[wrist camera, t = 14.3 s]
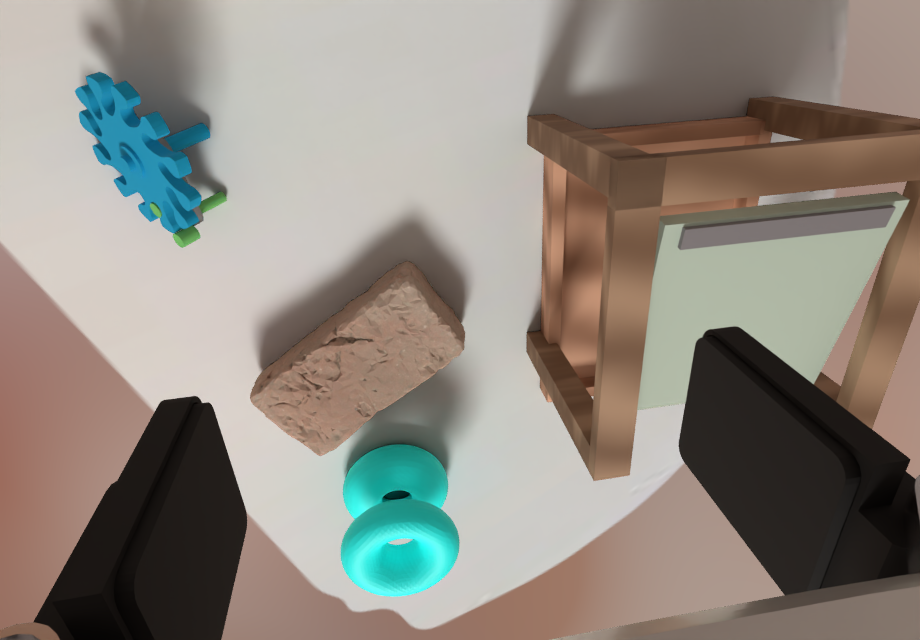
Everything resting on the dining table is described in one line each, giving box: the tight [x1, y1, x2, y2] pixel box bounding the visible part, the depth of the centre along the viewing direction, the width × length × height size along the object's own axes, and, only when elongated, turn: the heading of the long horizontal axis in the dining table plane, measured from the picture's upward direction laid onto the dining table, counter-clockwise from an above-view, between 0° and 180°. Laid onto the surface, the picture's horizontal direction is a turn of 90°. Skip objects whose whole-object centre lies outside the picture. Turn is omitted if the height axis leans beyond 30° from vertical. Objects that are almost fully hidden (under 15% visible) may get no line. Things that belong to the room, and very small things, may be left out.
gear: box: [75, 72, 227, 248], centre depth 36 cm, size 11×6×10 cm
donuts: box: [341, 444, 459, 596], centre depth 50 cm, size 10×10×10 cm
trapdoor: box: [637, 192, 910, 410], centre depth 34 cm, size 14×14×1 cm
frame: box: [527, 97, 920, 481], centre depth 40 cm, size 24×20×16 cm
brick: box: [250, 261, 465, 456], centre depth 46 cm, size 17×8×5 cm, turn 126°
